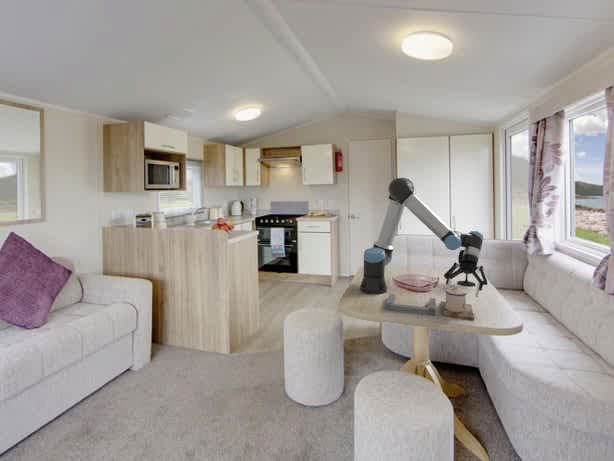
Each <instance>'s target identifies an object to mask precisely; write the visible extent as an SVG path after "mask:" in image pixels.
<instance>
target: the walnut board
mask: <svg viewBox="0 0 614 461" xmlns="http://www.w3.org/2000/svg"><path fill="white" fill-rule="evenodd" d="M445 303H446V301H443V300H442V301H440V317H446V318H453V319H462V320H468V321H469V320H471V321H474V320H475V316H474V312H473V307H472V304H470V303H469V304H467V303H465V311H464V312H460V313H457V312H451V311H448V310H446V308H445Z"/></svg>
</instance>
